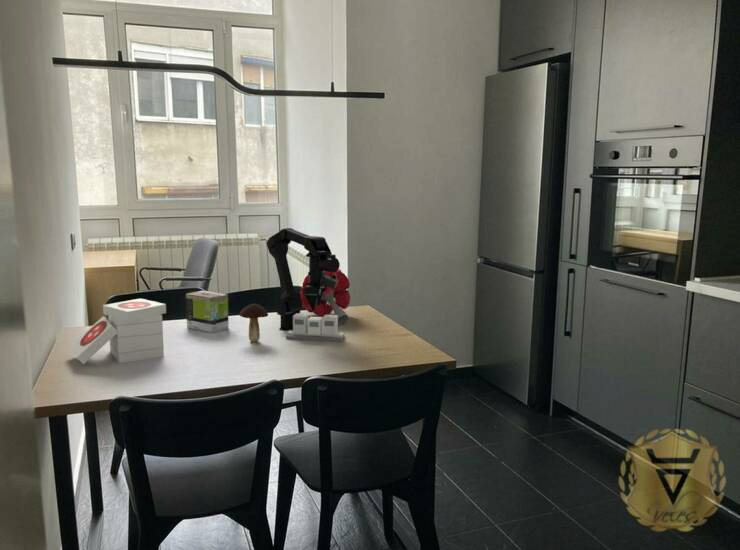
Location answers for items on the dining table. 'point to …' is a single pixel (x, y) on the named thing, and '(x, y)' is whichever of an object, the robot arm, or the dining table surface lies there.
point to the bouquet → (331, 298)
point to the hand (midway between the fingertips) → (316, 307)
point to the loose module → (315, 325)
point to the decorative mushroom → (253, 319)
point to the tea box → (207, 311)
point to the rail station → (327, 335)
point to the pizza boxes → (125, 332)
